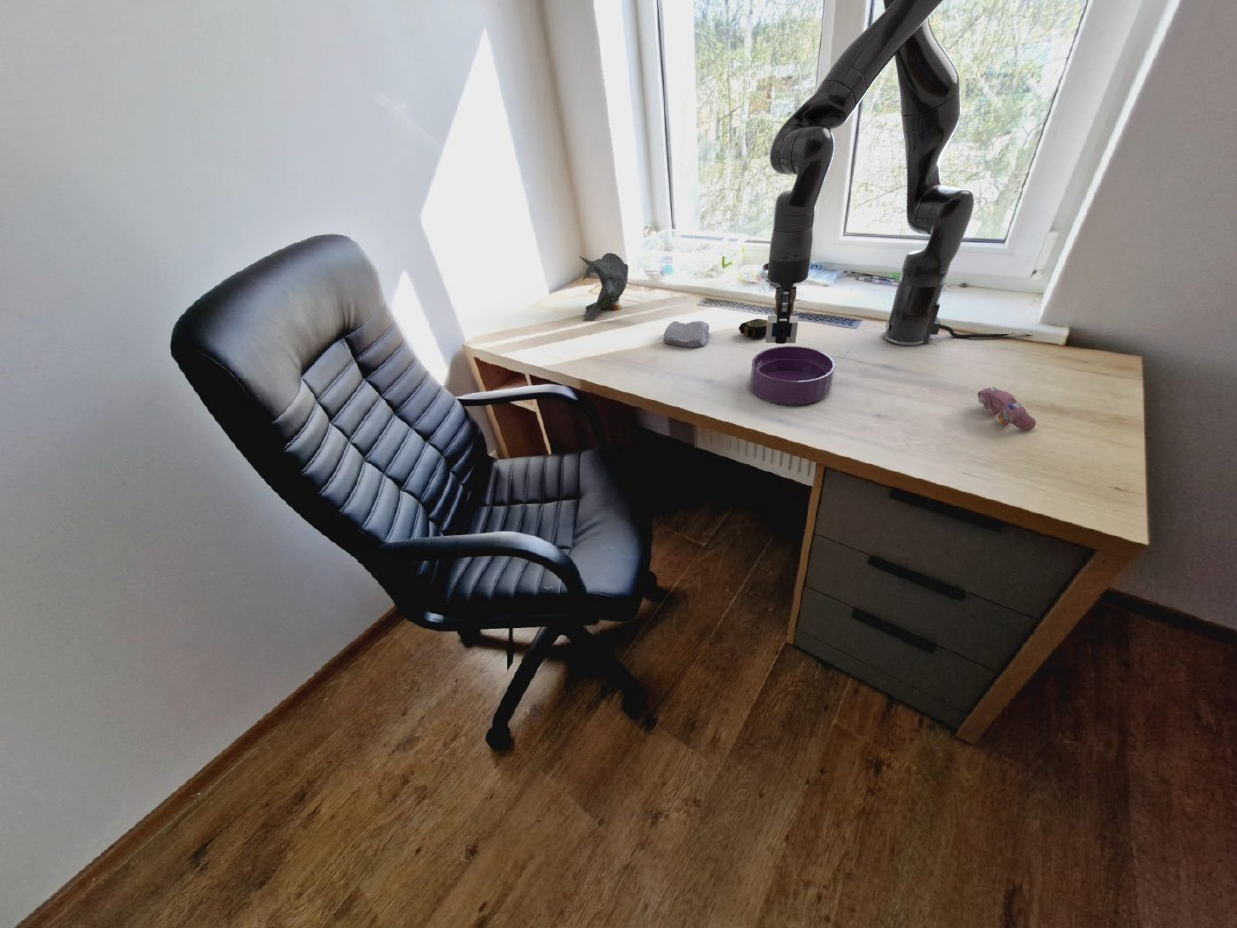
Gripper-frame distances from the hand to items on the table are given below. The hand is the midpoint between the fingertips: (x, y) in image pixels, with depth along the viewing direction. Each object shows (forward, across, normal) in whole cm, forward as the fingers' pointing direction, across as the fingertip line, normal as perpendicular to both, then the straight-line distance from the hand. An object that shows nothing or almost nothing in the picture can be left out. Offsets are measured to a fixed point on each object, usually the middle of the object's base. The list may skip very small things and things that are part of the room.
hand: (780, 338), depth 99 cm
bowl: (+12, 0, -3) cm, 12 cm away
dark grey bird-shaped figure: (+12, +45, +55) cm, 72 cm away
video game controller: (+12, -9, -41) cm, 43 cm away
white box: (0, 0, 0) cm, 0 cm away
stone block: (+12, +23, +25) cm, 36 cm away
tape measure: (+12, +28, +7) cm, 31 cm away
